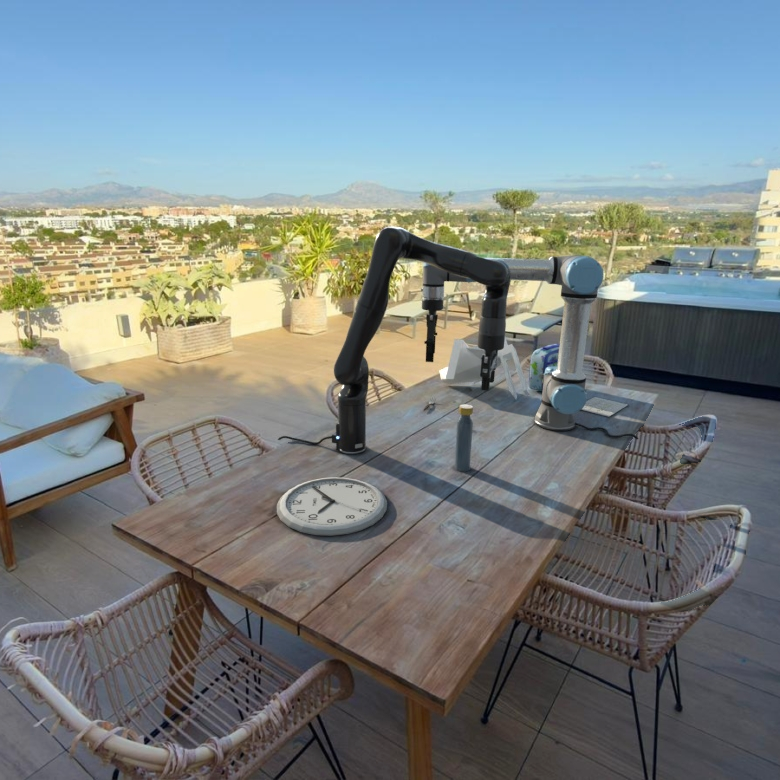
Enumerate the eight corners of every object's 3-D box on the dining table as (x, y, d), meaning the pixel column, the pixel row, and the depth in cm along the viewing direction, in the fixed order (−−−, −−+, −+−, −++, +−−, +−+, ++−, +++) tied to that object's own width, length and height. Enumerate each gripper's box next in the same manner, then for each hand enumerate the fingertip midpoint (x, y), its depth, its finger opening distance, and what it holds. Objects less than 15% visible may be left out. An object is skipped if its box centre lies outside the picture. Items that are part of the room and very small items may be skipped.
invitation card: (608, 416, 214) (573, 407, 224) (608, 416, 214) (573, 408, 224) (628, 404, 229) (594, 396, 238) (628, 405, 229) (594, 397, 238)
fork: (420, 411, 216) (420, 406, 216) (430, 400, 230) (431, 395, 230) (426, 412, 215) (426, 407, 215) (436, 401, 230) (436, 396, 229)
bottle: (471, 470, 165) (476, 409, 158) (457, 472, 164) (461, 410, 157) (466, 464, 169) (470, 404, 163) (452, 465, 168) (456, 405, 162)
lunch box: (545, 396, 239) (550, 351, 232) (524, 391, 246) (528, 347, 240) (572, 385, 256) (577, 343, 250) (552, 380, 263) (557, 339, 257)
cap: (474, 415, 159) (474, 408, 159) (461, 415, 158) (462, 408, 158) (469, 410, 163) (470, 403, 162) (457, 411, 162) (457, 404, 162)
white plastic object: (461, 429, 252) (437, 405, 227) (444, 352, 274) (420, 323, 250) (535, 404, 240) (518, 377, 215) (510, 326, 262) (492, 293, 237)
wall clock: (392, 527, 129) (268, 531, 127) (391, 533, 130) (269, 537, 127) (383, 473, 158) (282, 475, 155) (383, 478, 158) (282, 480, 156)
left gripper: (483, 326, 158) (479, 378, 162) (474, 335, 145) (470, 391, 150) (508, 328, 155) (504, 381, 160) (501, 337, 142) (496, 394, 147)
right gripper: (424, 293, 195) (422, 349, 202) (419, 302, 172) (417, 365, 178) (444, 294, 195) (441, 350, 201) (442, 303, 171) (439, 366, 177)
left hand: (487, 385), depth 155 cm, fingers open, 8 cm apart
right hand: (430, 357), depth 190 cm, fingers open, 13 cm apart
